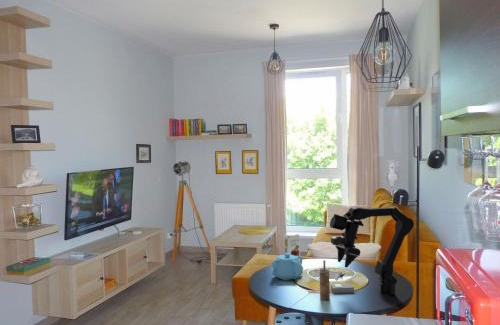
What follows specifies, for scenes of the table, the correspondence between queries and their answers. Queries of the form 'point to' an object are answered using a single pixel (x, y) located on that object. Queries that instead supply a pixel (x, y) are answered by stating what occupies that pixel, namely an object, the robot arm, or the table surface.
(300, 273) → the decorative pot
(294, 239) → the juice carton
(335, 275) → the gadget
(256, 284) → the table surface
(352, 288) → the block
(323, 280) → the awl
